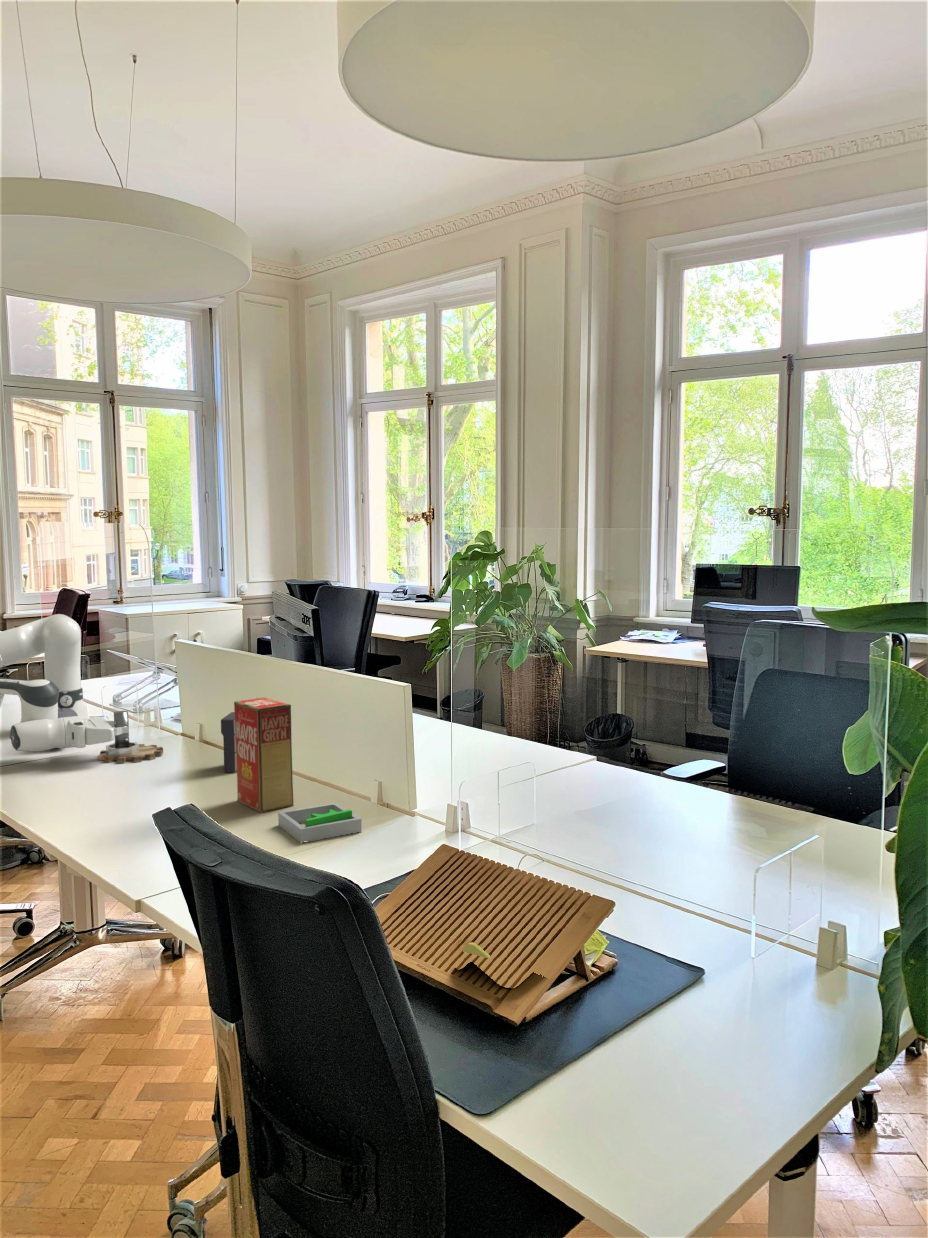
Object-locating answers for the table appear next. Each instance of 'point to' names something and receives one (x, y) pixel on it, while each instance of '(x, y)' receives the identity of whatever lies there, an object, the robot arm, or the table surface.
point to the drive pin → (121, 721)
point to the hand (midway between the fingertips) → (124, 726)
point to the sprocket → (130, 753)
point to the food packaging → (264, 754)
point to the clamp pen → (316, 832)
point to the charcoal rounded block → (229, 743)
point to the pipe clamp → (328, 817)
